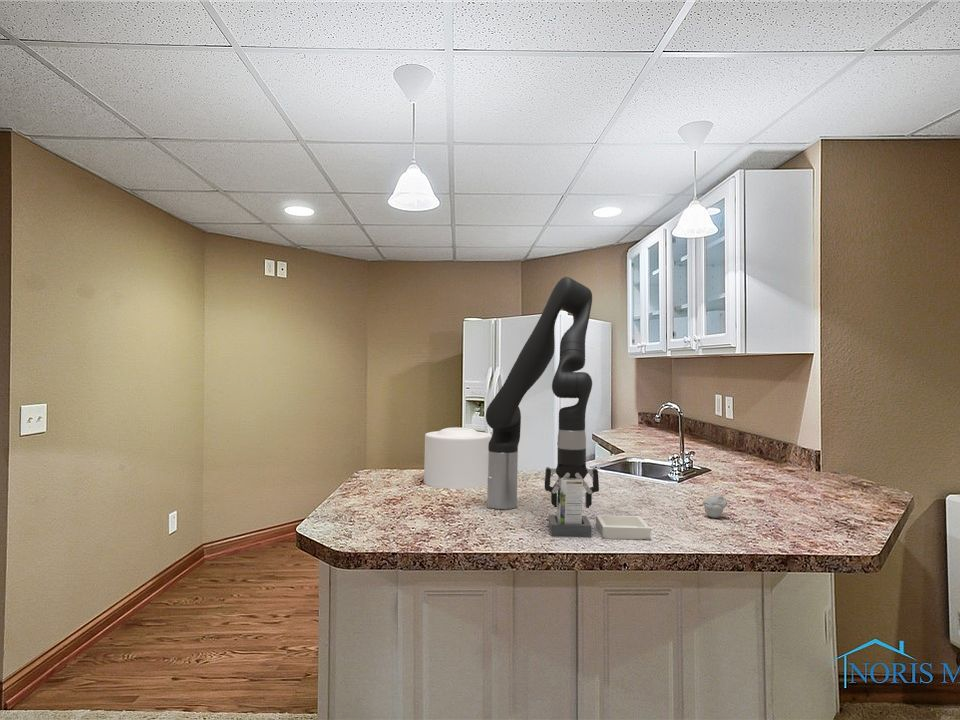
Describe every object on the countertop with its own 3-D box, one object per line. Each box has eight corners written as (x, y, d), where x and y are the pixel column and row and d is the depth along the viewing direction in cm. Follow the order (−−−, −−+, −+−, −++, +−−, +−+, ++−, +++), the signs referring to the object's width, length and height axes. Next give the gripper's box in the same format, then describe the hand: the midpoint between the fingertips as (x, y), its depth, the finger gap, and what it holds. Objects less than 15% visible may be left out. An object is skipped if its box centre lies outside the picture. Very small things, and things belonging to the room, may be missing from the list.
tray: (603, 538, 148) (603, 527, 148) (595, 525, 160) (595, 515, 160) (650, 540, 148) (650, 528, 148) (639, 527, 160) (639, 516, 160)
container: (430, 474, 232) (431, 424, 232) (493, 477, 229) (494, 426, 230) (417, 487, 207) (418, 431, 207) (487, 490, 204) (488, 433, 205)
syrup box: (555, 528, 157) (556, 474, 157) (577, 528, 158) (578, 474, 158) (560, 534, 152) (561, 478, 152) (582, 534, 152) (583, 478, 152)
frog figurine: (728, 521, 168) (728, 497, 168) (702, 519, 170) (703, 495, 170) (726, 516, 174) (726, 492, 174) (701, 514, 176) (701, 491, 176)
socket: (551, 536, 150) (551, 524, 150) (548, 525, 160) (548, 514, 160) (591, 537, 149) (591, 525, 149) (585, 526, 160) (585, 515, 160)
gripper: (546, 448, 152) (545, 510, 151) (601, 448, 151) (600, 511, 151) (543, 444, 159) (543, 503, 159) (596, 444, 159) (595, 504, 159)
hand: (571, 507), depth 155 cm, fingers open, 8 cm apart
